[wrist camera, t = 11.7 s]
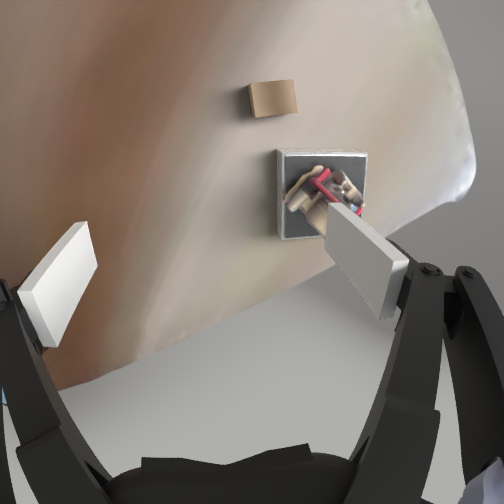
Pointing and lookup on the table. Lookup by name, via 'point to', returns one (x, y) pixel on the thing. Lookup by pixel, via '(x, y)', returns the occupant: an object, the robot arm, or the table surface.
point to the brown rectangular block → (272, 98)
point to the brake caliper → (323, 196)
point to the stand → (303, 161)
